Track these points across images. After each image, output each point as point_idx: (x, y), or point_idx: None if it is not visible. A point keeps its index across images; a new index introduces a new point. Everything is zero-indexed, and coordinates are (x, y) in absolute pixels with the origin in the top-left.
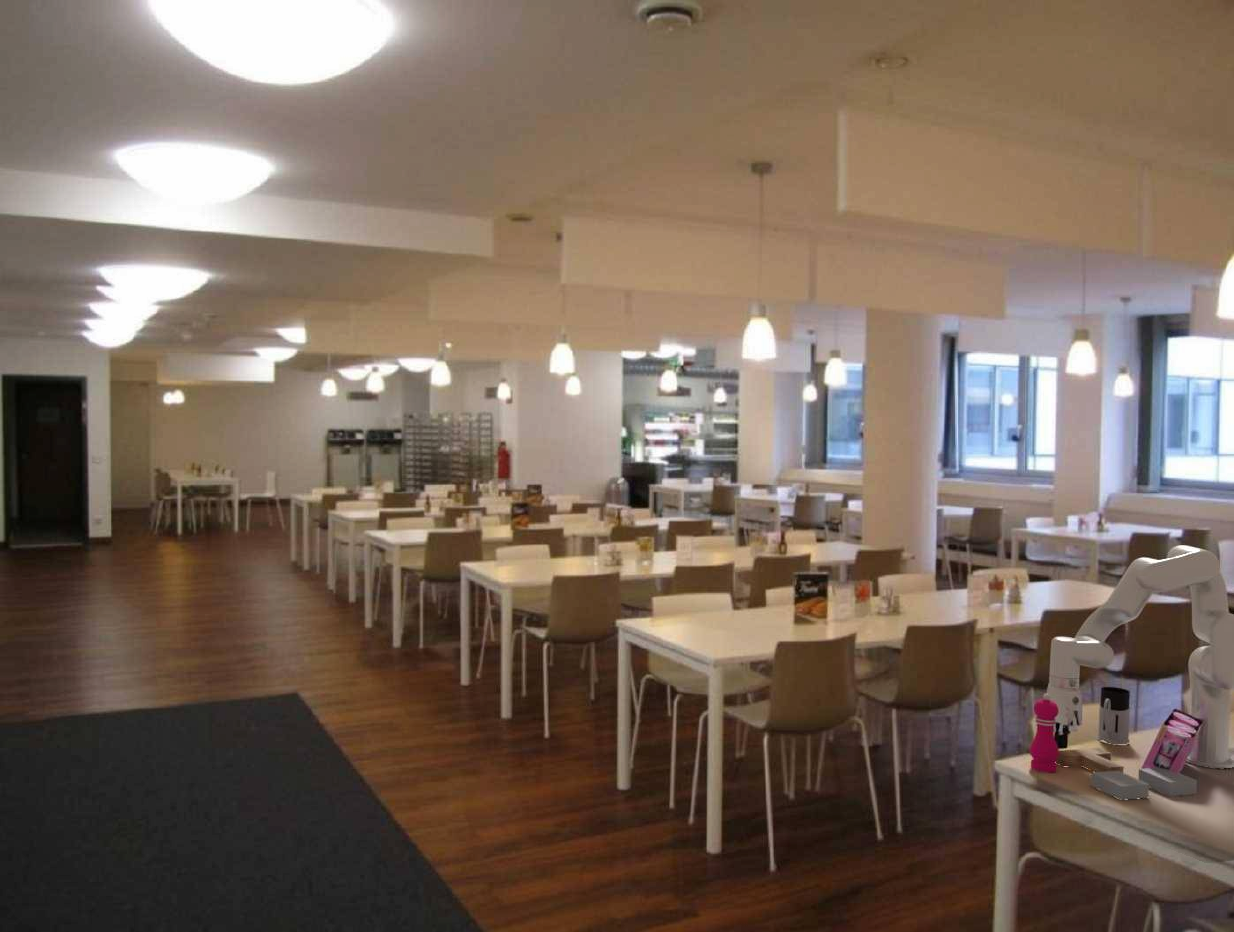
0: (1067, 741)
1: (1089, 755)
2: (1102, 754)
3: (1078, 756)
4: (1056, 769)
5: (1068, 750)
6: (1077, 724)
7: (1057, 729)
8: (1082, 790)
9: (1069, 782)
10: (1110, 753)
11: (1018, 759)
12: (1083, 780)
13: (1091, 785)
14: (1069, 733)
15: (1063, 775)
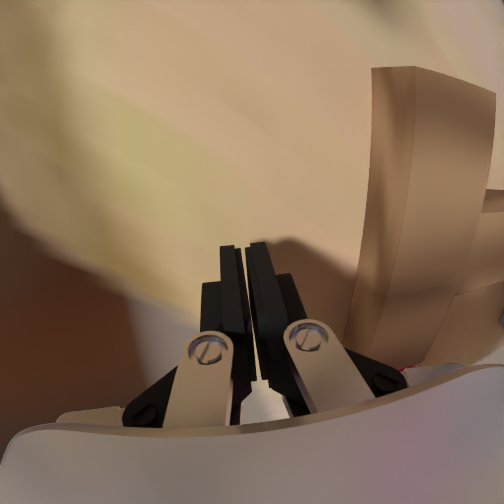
0: (272, 269)
1: (475, 258)
2: (487, 157)
3: (445, 305)
4: (412, 365)
5: (384, 320)
6: (459, 382)
7: (238, 403)
8: (490, 345)
9: (462, 354)
10: (494, 97)
11: (280, 411)
12: (478, 321)
13: (500, 324)
14: (329, 333)
15: (435, 353)
